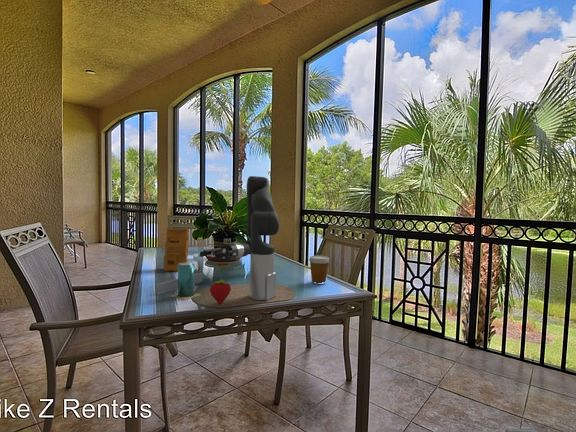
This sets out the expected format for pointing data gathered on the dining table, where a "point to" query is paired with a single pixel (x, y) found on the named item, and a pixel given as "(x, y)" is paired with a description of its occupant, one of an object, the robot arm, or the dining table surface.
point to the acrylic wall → (174, 284)
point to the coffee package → (175, 248)
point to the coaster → (185, 297)
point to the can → (185, 279)
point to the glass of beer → (319, 268)
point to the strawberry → (220, 290)
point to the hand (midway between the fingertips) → (208, 255)
